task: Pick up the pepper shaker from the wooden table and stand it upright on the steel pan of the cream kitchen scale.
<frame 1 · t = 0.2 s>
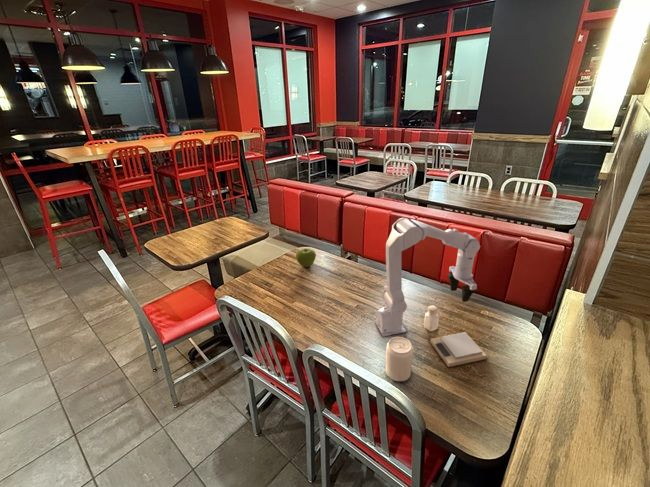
hand: (459, 295, 122), 10 cm above the table, tool pointing down, fingers open, 7 cm apart
scale: (456, 350, 109), on the table
beverage can: (397, 373, 102), on the table
apple: (306, 265, 170), on the table
pepper shaker: (430, 328, 121), on the table
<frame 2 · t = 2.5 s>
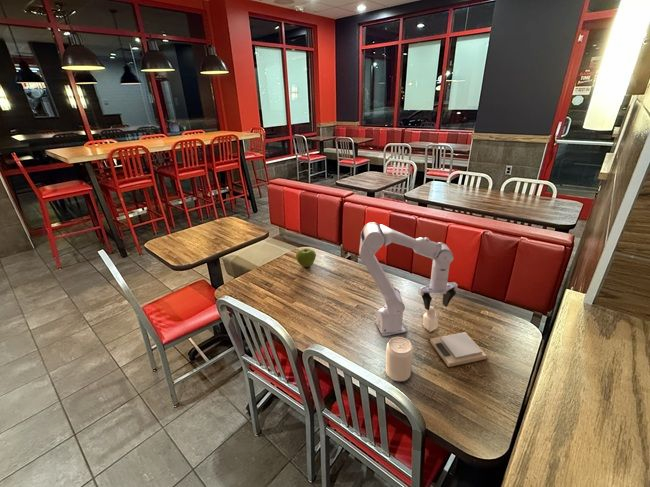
hand: (435, 307, 117), 9 cm above the table, tool pointing down, fingers open, 7 cm apart
pepper shaker: (430, 327, 120), on the table, touching gripper
everything else where it was.
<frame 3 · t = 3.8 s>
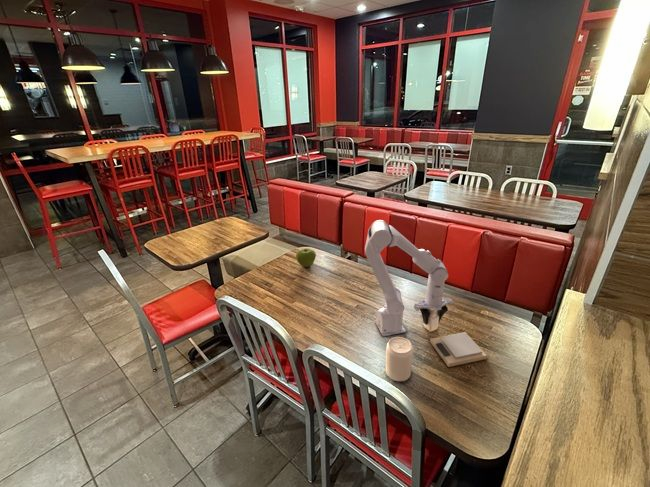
hand: (431, 321, 119), 3 cm above the table, tool pointing down, fingers closed on pepper shaker, 4 cm apart
pepper shaker: (430, 328, 121), on the table, touching gripper
everything else where it was.
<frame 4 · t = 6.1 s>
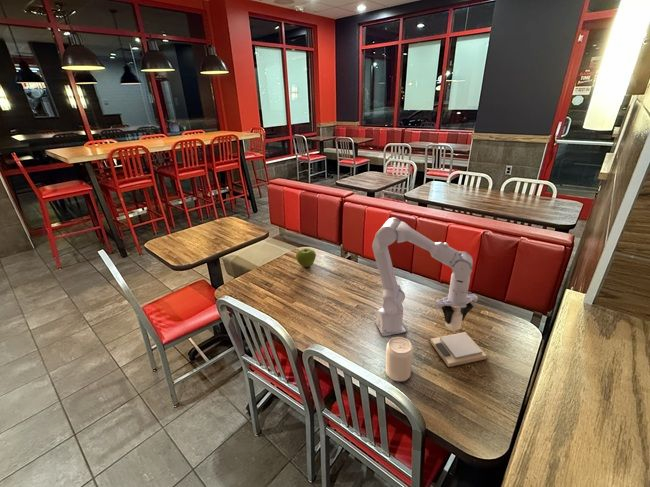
hand: (453, 320, 109), 10 cm above the table, tool pointing down, fingers closed on pepper shaker, 4 cm apart
pepper shaker: (452, 327, 110), point 7 cm above the table, touching gripper
everything else where it was.
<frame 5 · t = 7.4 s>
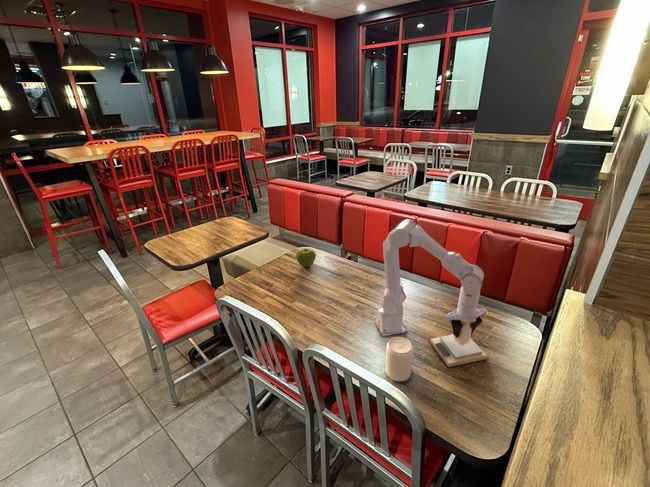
hand: (462, 334, 107), 7 cm above the table, tool pointing down, fingers closed on pepper shaker, 4 cm apart
pepper shaker: (461, 341, 108), point 4 cm above the table, touching gripper
everything else where it was.
when the fingers open (5 cm above the table, at t = 8.3 s): pepper shaker stays where it is, resting on scale.
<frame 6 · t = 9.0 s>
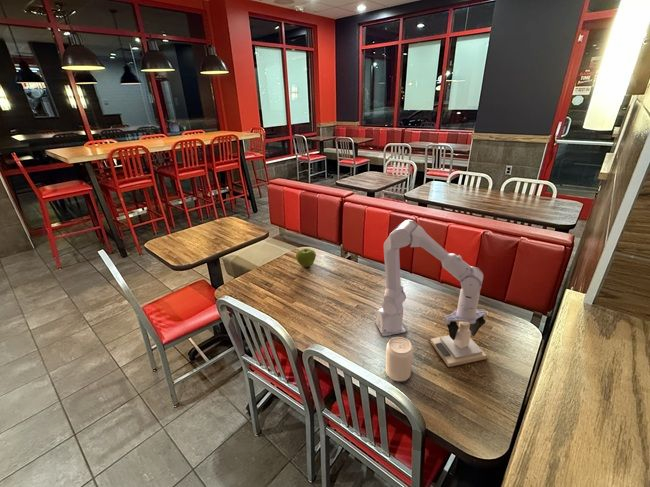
hand: (462, 335, 107), 6 cm above the table, tool pointing down, fingers open, 7 cm apart
pepper shaker: (460, 344, 109), point 2 cm above the table, touching scale
everything else where it was.
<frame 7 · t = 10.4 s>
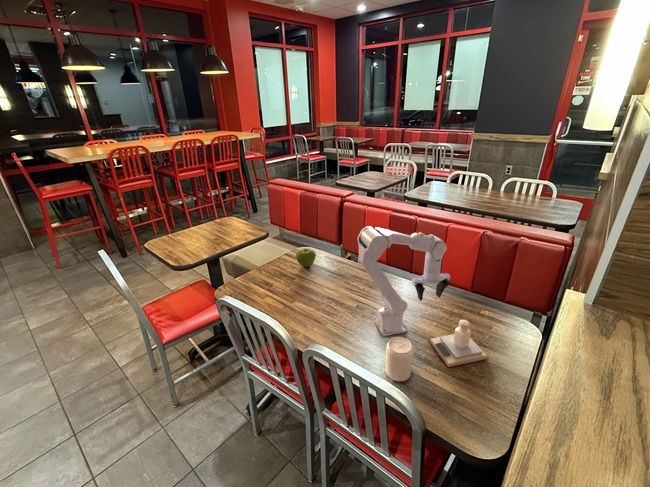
hand: (429, 297, 121), 10 cm above the table, tool pointing down, fingers open, 7 cm apart
nothing on the table moved.
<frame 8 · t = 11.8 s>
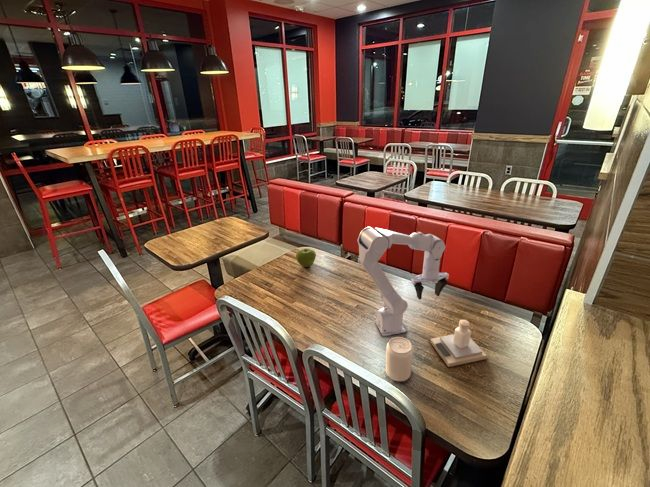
hand: (428, 296, 122), 10 cm above the table, tool pointing down, fingers open, 7 cm apart
nothing on the table moved.
at the end: pepper shaker inside the target area on the scale (0.0 cm from its centre), point 2.4 cm above the scale's base; pepper shaker tilted 0°; the gripper is holding nothing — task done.
